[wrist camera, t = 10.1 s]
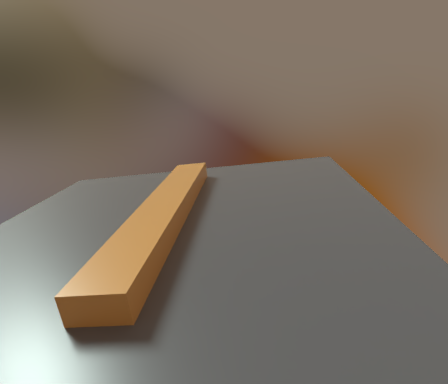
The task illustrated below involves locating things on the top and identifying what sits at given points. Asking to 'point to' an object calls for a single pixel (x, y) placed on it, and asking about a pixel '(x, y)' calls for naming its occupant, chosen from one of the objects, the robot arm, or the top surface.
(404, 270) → the gray block
